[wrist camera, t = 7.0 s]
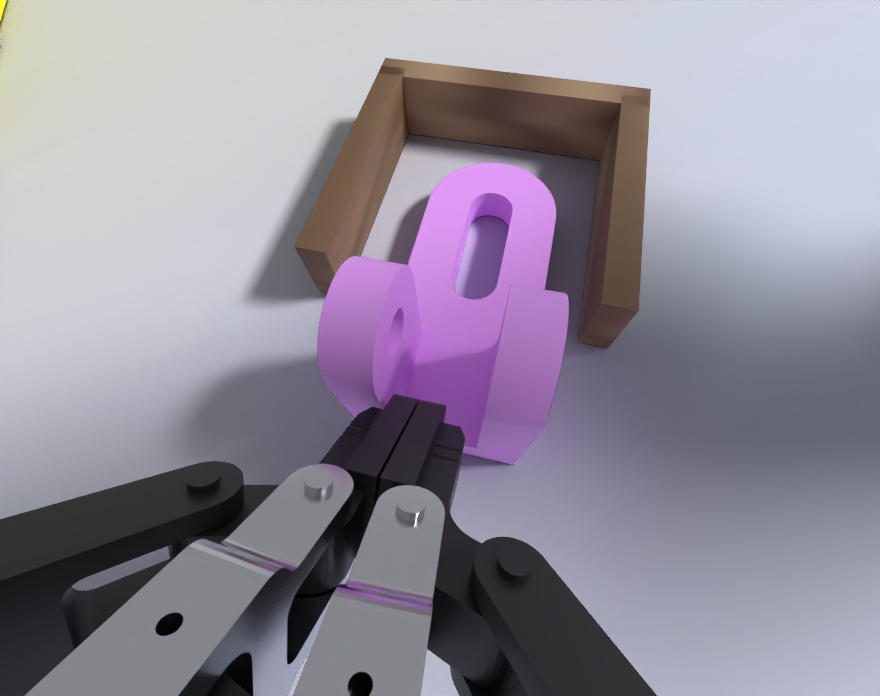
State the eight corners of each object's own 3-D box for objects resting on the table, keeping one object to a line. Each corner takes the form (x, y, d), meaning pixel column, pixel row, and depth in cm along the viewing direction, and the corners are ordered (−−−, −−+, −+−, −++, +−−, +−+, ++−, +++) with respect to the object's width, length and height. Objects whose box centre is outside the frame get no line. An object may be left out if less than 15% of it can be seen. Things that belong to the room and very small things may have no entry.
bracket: (512, 464, 15) (557, 412, 8) (365, 429, 15) (301, 356, 9) (556, 195, 20) (604, 35, 13) (444, 178, 20) (439, 19, 14)
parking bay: (625, 147, 21) (650, 89, 18) (608, 348, 16) (638, 310, 14) (393, 115, 23) (385, 57, 20) (319, 290, 18) (294, 246, 15)
